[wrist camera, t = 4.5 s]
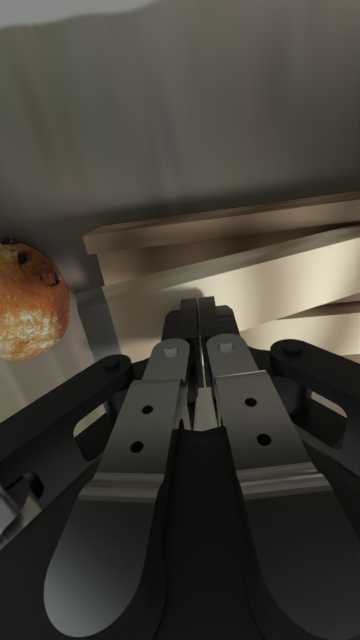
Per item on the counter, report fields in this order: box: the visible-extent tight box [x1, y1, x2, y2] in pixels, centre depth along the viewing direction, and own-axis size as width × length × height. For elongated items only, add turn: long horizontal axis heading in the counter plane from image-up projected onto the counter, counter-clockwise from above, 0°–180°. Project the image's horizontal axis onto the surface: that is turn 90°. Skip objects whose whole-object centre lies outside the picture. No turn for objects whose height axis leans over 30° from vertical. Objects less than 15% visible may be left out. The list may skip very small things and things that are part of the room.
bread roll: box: [0, 235, 70, 360], centre depth 23 cm, size 10×10×8 cm
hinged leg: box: [76, 223, 360, 363], centre depth 15 cm, size 20×3×2 cm, turn 97°
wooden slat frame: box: [82, 191, 360, 374], centre depth 21 cm, size 22×12×5 cm, turn 98°
